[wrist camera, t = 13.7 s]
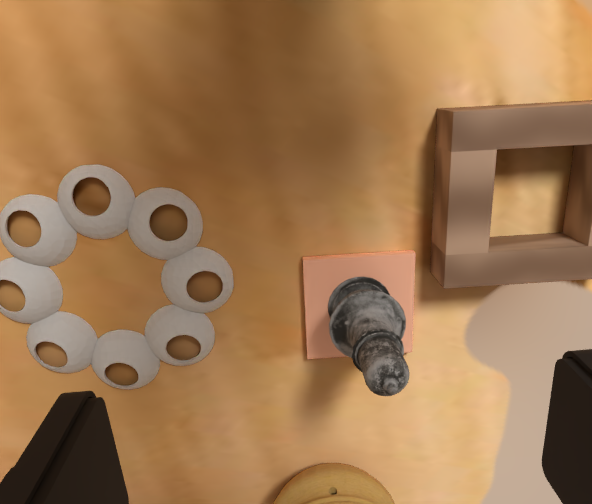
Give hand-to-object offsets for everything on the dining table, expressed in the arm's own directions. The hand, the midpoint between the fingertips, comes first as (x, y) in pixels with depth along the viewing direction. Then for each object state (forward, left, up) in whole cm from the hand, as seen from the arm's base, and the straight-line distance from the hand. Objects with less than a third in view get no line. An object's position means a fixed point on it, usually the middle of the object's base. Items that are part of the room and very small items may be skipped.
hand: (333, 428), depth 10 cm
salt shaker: (+11, +5, -29) cm, 31 cm away
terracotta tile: (+11, +5, -29) cm, 32 cm away
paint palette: (+8, -15, -30) cm, 34 cm away
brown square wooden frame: (+2, +18, -29) cm, 35 cm away
